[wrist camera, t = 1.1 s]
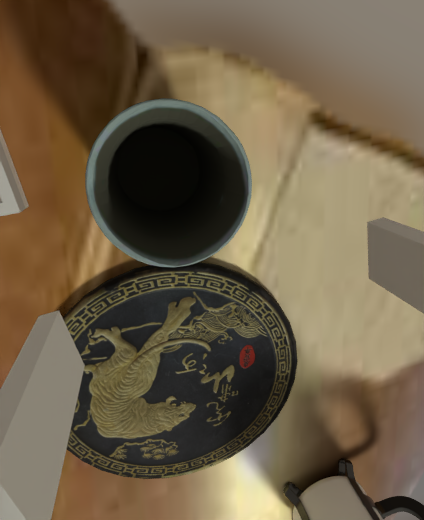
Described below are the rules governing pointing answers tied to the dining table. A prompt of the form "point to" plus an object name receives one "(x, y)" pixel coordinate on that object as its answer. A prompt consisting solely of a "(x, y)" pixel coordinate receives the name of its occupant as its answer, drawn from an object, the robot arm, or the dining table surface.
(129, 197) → the teal cup
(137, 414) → the decorative plate
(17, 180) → the tray
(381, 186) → the dining table surface
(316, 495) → the coffee press
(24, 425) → the robot arm
